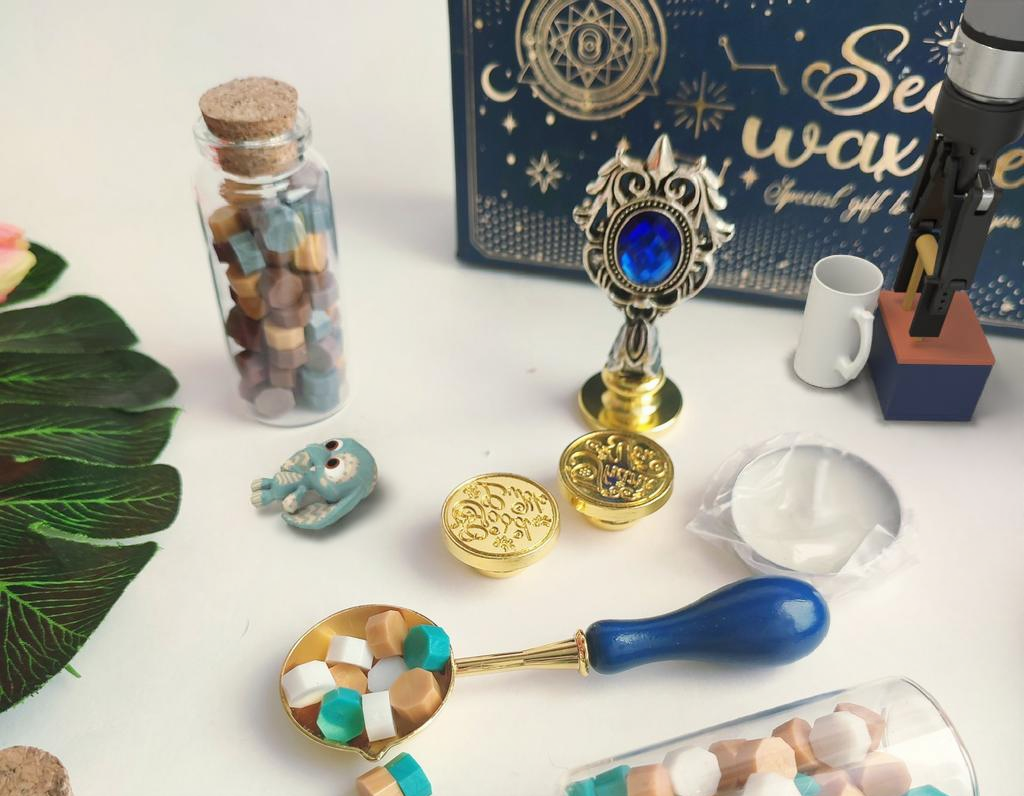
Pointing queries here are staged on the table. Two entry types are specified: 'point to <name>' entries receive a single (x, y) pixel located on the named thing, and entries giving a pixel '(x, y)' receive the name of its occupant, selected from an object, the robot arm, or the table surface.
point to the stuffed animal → (320, 482)
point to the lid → (959, 330)
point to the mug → (837, 321)
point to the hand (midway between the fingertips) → (915, 311)
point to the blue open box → (922, 384)
